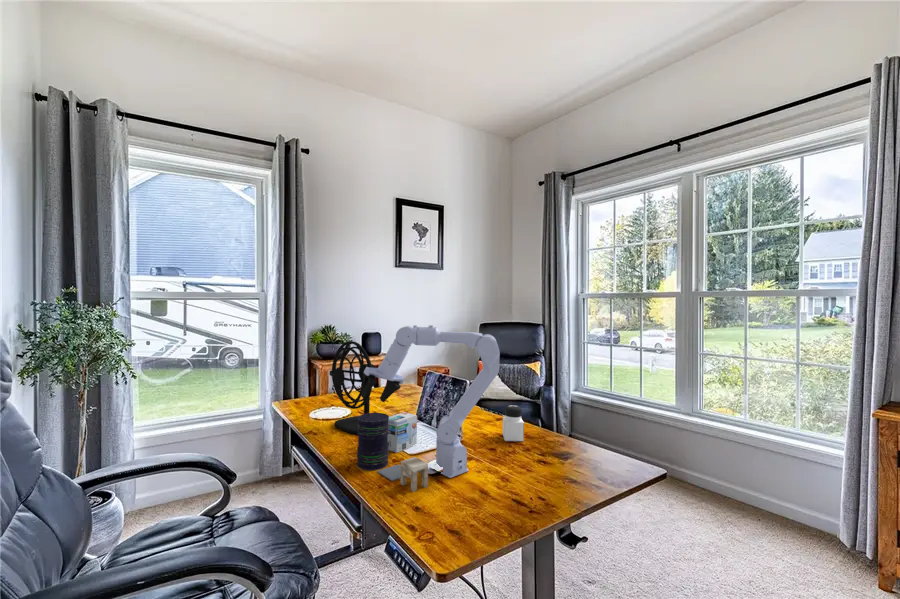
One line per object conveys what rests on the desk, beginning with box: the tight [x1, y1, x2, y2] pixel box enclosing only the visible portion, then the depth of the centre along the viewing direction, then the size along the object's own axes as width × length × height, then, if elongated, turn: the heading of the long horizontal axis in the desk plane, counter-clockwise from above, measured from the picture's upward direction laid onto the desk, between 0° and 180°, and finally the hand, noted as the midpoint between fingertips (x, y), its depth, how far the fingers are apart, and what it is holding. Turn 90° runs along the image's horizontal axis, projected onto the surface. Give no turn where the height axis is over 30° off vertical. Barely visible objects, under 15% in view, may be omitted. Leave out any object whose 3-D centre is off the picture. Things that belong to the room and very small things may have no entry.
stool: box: [400, 456, 429, 493], centre depth 115 cm, size 6×5×6 cm
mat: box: [376, 464, 401, 482], centre depth 123 cm, size 8×8×1 cm
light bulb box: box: [388, 411, 418, 454], centre depth 145 cm, size 11×7×11 cm, turn 143°
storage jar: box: [356, 412, 390, 471], centre depth 130 cm, size 10×10×15 cm
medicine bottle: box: [502, 405, 525, 442], centre depth 156 cm, size 7×7×12 cm
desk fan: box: [329, 341, 376, 435], centre depth 166 cm, size 27×18×35 cm, turn 47°
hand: (372, 398), depth 129 cm, fingers open, 7 cm apart
